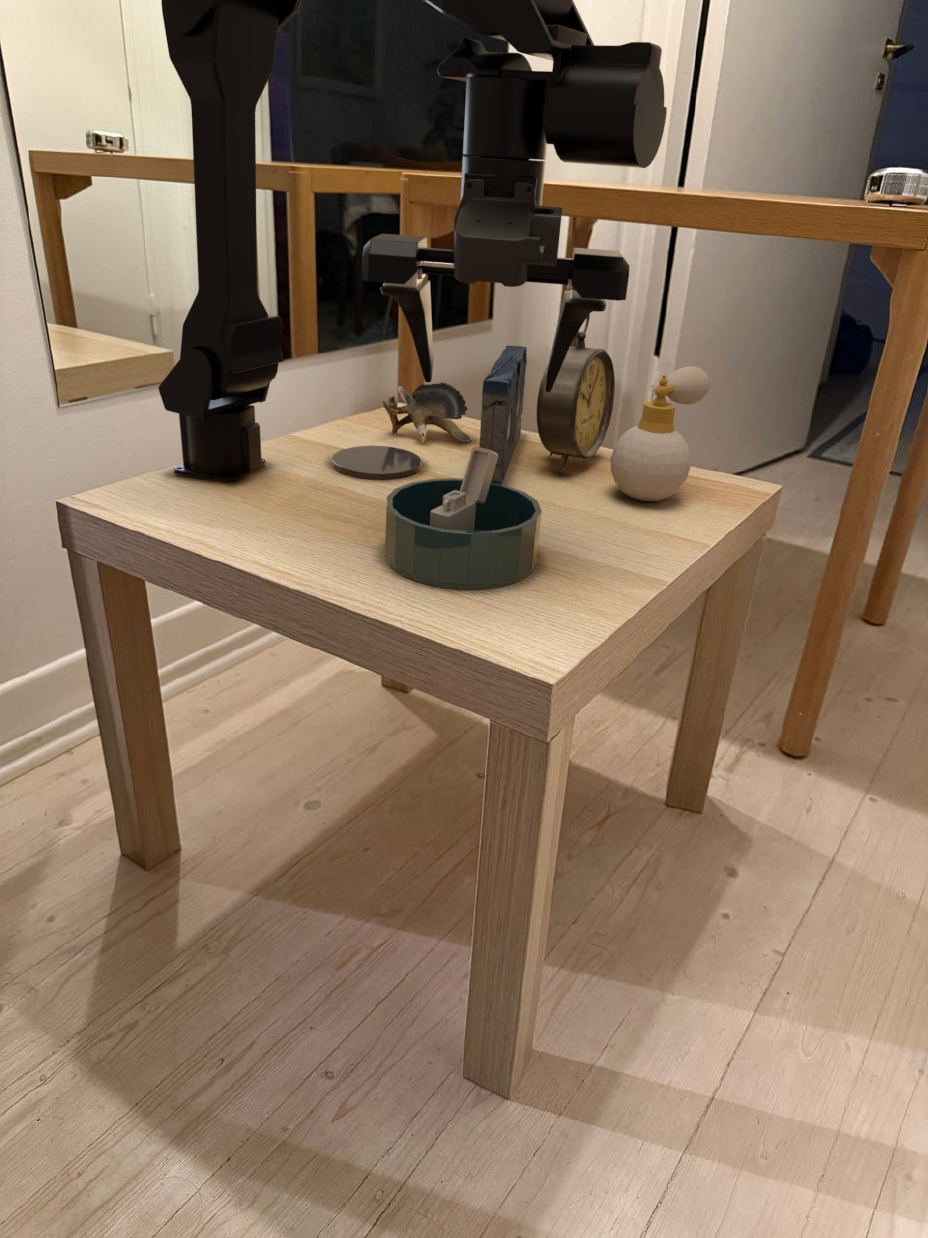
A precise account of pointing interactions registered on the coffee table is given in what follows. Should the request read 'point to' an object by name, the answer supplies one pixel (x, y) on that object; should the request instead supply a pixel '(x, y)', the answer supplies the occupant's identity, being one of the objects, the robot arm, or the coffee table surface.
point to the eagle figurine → (429, 409)
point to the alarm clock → (577, 403)
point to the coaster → (376, 462)
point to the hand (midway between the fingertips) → (487, 386)
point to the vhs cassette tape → (503, 407)
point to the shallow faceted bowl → (462, 537)
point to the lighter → (466, 493)
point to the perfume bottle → (658, 441)
